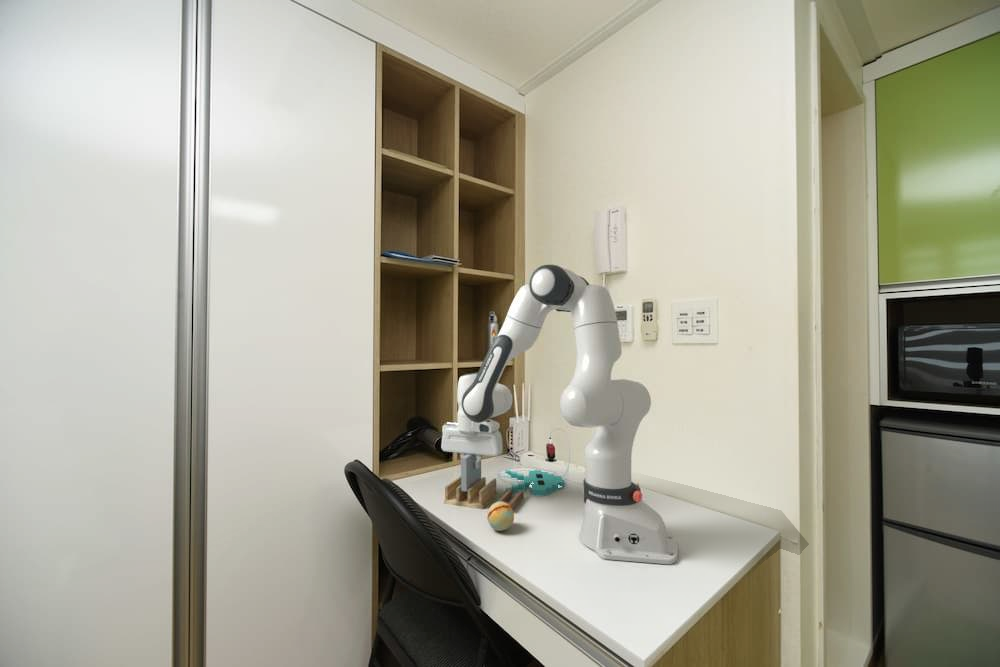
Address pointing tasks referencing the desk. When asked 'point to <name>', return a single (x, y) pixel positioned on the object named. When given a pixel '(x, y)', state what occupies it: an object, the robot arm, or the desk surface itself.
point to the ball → (500, 516)
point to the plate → (469, 472)
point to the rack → (471, 494)
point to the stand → (515, 500)
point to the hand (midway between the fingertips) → (471, 467)
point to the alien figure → (536, 482)
